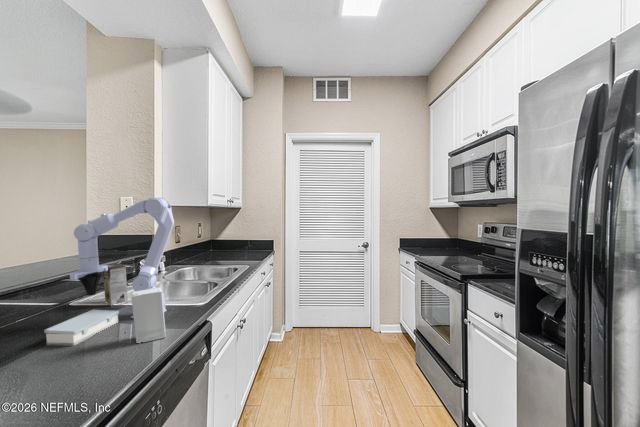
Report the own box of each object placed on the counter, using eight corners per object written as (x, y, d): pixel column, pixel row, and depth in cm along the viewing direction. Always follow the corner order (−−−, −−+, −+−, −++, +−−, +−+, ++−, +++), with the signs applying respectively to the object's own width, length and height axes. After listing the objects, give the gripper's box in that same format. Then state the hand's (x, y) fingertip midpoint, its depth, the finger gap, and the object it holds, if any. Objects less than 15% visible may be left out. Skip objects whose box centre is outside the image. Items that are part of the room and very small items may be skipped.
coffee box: (104, 302, 140) (102, 265, 139) (121, 298, 145) (119, 262, 144) (111, 306, 134) (108, 267, 133) (128, 302, 138) (125, 265, 138)
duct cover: (118, 313, 115) (118, 310, 115) (74, 334, 97) (74, 331, 97) (93, 312, 116) (93, 309, 116) (44, 333, 98) (44, 329, 98)
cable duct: (119, 322, 115) (118, 312, 115) (75, 345, 97) (74, 334, 97) (95, 322, 116) (94, 312, 116) (47, 345, 98) (46, 333, 98)
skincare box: (165, 331, 105) (162, 286, 104) (165, 338, 100) (162, 290, 99) (135, 337, 101) (132, 290, 101) (134, 345, 96) (131, 295, 95)
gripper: (94, 254, 125) (97, 289, 126) (60, 261, 111) (63, 301, 111) (111, 253, 124) (114, 289, 125) (79, 261, 110) (82, 301, 110)
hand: (91, 294), depth 118 cm, fingers closed
